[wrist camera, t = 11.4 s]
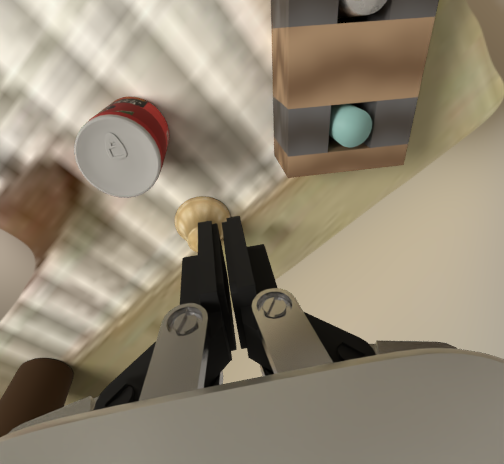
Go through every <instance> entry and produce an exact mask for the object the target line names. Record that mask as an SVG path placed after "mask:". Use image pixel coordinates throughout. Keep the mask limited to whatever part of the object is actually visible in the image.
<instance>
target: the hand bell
mask: <svg viewBox="0 0 504 464" xmlns="http://www.w3.org/2000/svg"><path fill="white" fill-rule="evenodd" d="M230 217H231V216H230V213H229V211H228V209H227V208H226V206H225V205H224V204H223V203H221V202H220V201H218V200H216V199H214V198H211V197H195V198H192V199H190V200H187V201H186V202H184V203H183V204H182V205H181V206H180V207H179V209H178V210H177V212H176V215H175V227H176V230H177V232H178V233H179V235H180V236H181V237H182V238H183V239H185V240H186V241H187V242H188V245H189V247H190V248H191V249H192V250H193V251H195V252H197V253H198V222H205V221H212V224H215V223H217V224H218V229H219V234H220V240H221V239H222V238H223V230H222V222H227V220H226V218H230Z"/></svg>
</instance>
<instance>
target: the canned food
mask: <svg viewBox="0 0 504 464" xmlns="http://www.w3.org/2000/svg"><path fill="white" fill-rule="evenodd" d="M168 143H169V129H168V125H167V123H166V121H165V118H164V117H163V115H162V114H161V112H160V111H159V110H158V109H157V108H156V107H155V106H153V105H152V104H151V103H149V102H147V101H146V100H144V99H140V98H137V97H123V98H120V99H117V100H116V101H114V102H113V103H111V104H110V105H109V106H107V107H106V108H105V109H103V110H102V111H101V112H99V113H98V114H97V115H95V116H94V117H93V118H91V119H90V120H89V121H88V122H87V123H86V124H85V125H84V126H83V127H82V128H81V130H80V131H79V133H78V135H77V137H76V140H75V145H74V154H75V158H76V162H77V165H78V167H79V169H80V171H81V172H82V174H83V175H84V177H85V178H86V179H87V180H88V181H89V182H90V183H91V184H92V185H93V186H94V187H96V188H97V189H99V190H100V191H102V192H104V193H106V194H109V195H111V196H116V197H123V198H129V197H136V196H138V195H141V194H143V193H145V192H147V191H148V190H149V189H150V188H151V187H152V186H153V185H154V184H155V182H156V180H157V179H158V177H159V174H160V171H161V168H162V165H163V161H164V158H165V154H166V151H167V147H168Z"/></svg>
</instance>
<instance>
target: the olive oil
mask: <svg viewBox="0 0 504 464" xmlns="http://www.w3.org/2000/svg"><path fill="white" fill-rule="evenodd" d="M72 380H73V371H72V369H71V368H70V367H69V366H68V365H66V364H65V363H63V362H61V361H58V360H54V359H48V358H38V359H33V360H29V361H27V362H25V363H23V364H22V365H21V366H20V367H19V369H18V371H17V372H16V374H15V376H14V377H13V379H12V381H11V383H10V384H9V386H8V388H7V390H6V391H5V393H4V395H3V396H2V398H1V400H0V437H2V436H5V435H6V434H8V433H9V432H10V431H11V430H12V429H14V428H15V427H17V426H19V425H21V424H23V423H25V422H28V421H30V420H32V419H35V418H37V417H40V416H42V415H45V414H47V413H50V412H52V411H55V410H57V409H60V408H62V407H64V404H65V401H66V398H67V395H68V392H69V389H70V386H71V383H72Z"/></svg>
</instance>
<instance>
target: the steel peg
mask: <svg viewBox="0 0 504 464" xmlns="http://www.w3.org/2000/svg"><path fill="white" fill-rule="evenodd" d="M386 1H387V0H339V4H338V18H345V17H353V16H362V15H369V14H373V13H375V12H377V11H378V10H379V9H381V8H382V6H383V5H384V4H385V3H386Z"/></svg>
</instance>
